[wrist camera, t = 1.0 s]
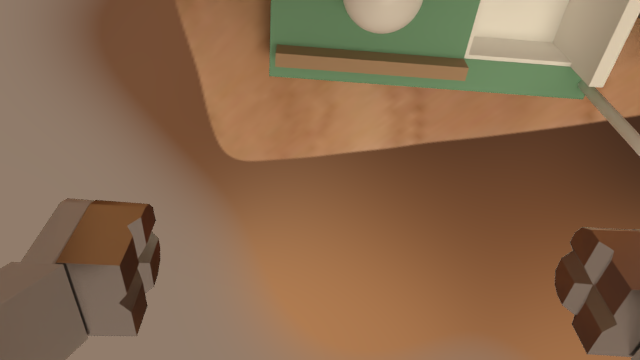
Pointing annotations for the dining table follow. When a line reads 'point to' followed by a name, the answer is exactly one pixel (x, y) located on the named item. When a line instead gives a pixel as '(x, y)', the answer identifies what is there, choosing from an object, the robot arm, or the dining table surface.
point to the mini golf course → (463, 47)
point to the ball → (382, 14)
